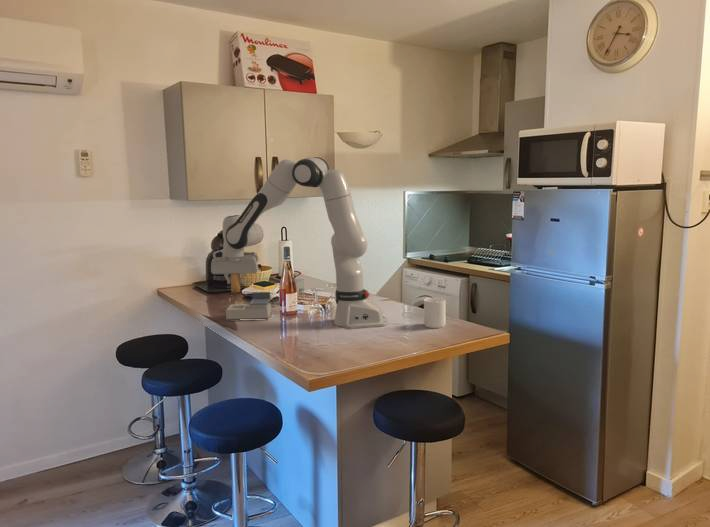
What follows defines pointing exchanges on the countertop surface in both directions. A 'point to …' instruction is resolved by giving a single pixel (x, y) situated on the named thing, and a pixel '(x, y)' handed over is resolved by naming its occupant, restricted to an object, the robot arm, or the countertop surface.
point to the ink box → (300, 285)
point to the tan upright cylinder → (235, 282)
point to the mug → (434, 312)
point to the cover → (260, 298)
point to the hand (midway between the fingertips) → (235, 283)
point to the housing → (248, 311)
